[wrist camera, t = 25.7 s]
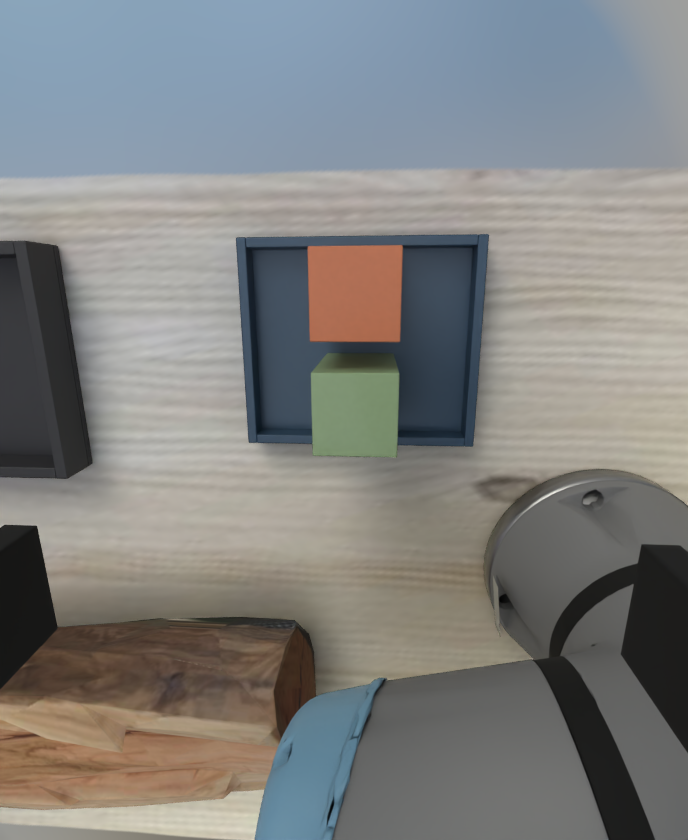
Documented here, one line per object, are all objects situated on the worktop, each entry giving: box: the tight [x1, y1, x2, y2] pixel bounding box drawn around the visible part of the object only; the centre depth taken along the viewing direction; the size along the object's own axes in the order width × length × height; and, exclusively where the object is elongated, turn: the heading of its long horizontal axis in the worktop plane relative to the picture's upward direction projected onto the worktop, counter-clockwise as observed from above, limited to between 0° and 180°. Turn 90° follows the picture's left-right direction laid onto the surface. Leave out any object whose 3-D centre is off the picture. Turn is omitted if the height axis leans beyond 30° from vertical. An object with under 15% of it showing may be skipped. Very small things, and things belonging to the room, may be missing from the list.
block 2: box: [311, 353, 399, 457], centre depth 28 cm, size 4×4×8 cm
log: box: [0, 617, 316, 810], centre depth 35 cm, size 42×18×15 cm, turn 95°
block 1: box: [308, 245, 403, 342], centre depth 26 cm, size 4×4×8 cm
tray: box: [236, 234, 489, 447], centre depth 30 cm, size 15×13×2 cm
